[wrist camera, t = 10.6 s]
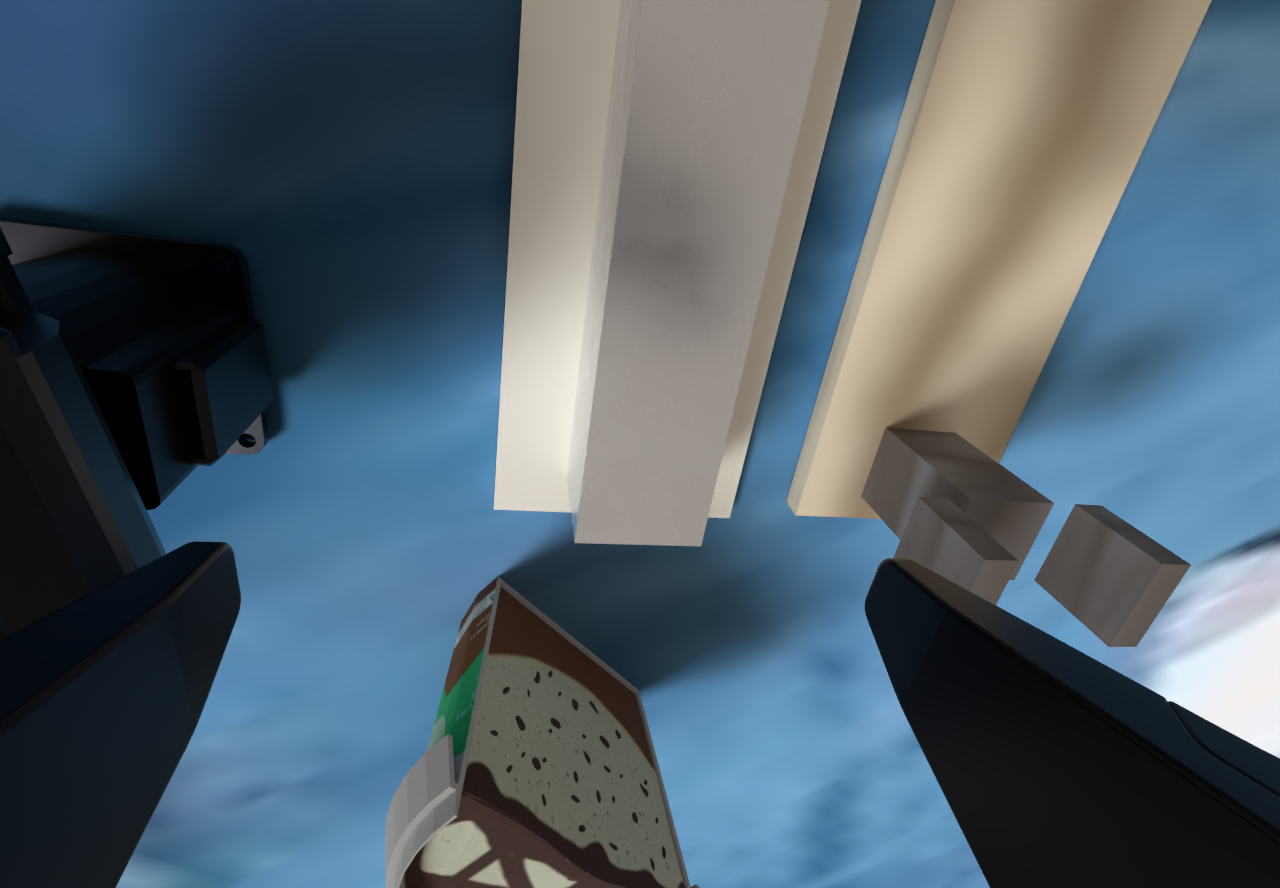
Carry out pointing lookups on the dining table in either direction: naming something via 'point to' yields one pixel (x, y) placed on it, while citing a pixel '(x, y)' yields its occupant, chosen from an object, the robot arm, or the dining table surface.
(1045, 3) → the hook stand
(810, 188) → the board
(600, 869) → the food container
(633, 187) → the rail
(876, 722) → the dining table surface
